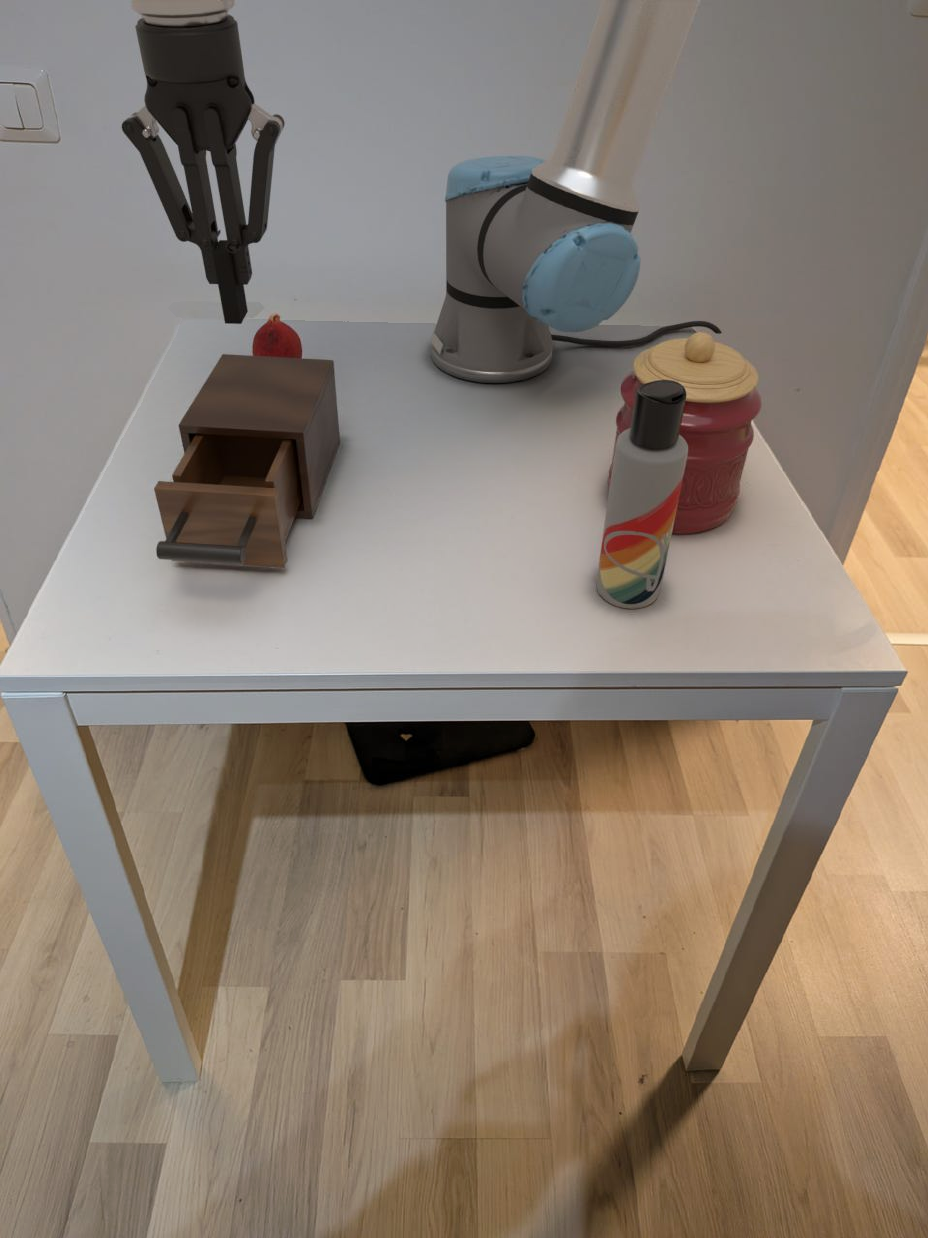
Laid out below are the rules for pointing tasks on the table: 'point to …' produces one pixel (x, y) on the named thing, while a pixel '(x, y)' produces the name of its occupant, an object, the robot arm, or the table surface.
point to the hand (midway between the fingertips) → (236, 316)
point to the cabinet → (273, 411)
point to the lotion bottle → (643, 497)
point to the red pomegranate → (276, 340)
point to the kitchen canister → (702, 421)
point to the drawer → (231, 501)
